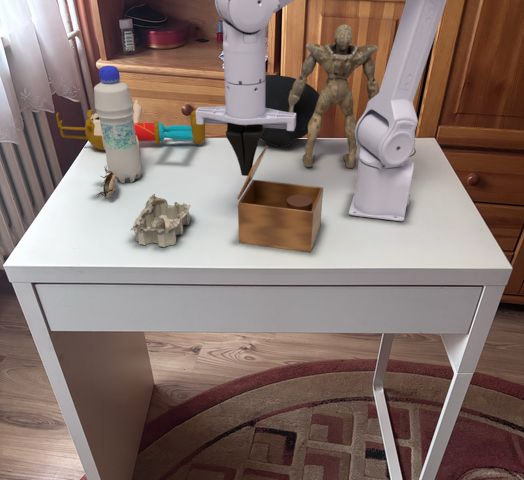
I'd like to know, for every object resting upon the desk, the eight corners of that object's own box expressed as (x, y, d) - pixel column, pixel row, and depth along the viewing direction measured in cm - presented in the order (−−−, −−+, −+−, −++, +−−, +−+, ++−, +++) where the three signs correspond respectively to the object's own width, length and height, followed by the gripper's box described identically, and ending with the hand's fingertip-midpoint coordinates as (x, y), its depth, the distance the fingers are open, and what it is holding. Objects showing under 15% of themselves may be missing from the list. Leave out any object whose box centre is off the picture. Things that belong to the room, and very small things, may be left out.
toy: (209, 140, 107) (48, 138, 102) (208, 179, 113) (57, 179, 109) (201, 85, 123) (61, 81, 118) (201, 121, 129) (68, 119, 125)
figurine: (367, 153, 116) (389, 18, 99) (373, 169, 110) (398, 29, 93) (284, 151, 115) (292, 15, 98) (286, 168, 109) (295, 26, 92)
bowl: (278, 107, 103) (293, 59, 103) (217, 117, 114) (231, 74, 115) (327, 154, 115) (341, 111, 116) (268, 159, 127) (280, 119, 127)
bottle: (147, 171, 109) (132, 61, 96) (138, 186, 104) (120, 72, 91) (114, 170, 109) (94, 60, 96) (104, 184, 104) (81, 70, 91)
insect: (100, 170, 95) (118, 176, 95) (106, 159, 102) (122, 164, 103) (93, 202, 97) (110, 208, 98) (99, 189, 105) (115, 194, 106)
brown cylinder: (312, 229, 91) (314, 196, 87) (307, 242, 88) (309, 207, 84) (288, 226, 92) (289, 193, 88) (283, 238, 89) (284, 204, 85)
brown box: (238, 242, 89) (237, 203, 84) (253, 217, 95) (252, 179, 90) (310, 252, 86) (313, 212, 82) (320, 225, 93) (323, 187, 88)
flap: (238, 200, 84) (236, 199, 84) (253, 176, 90) (252, 175, 90) (253, 168, 80) (251, 167, 80) (268, 146, 86) (266, 145, 86)
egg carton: (156, 213, 96) (153, 191, 93) (196, 219, 94) (194, 197, 92) (128, 243, 88) (124, 220, 86) (171, 250, 87) (168, 227, 84)
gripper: (300, 73, 78) (296, 166, 87) (202, 68, 80) (208, 159, 89) (293, 89, 73) (289, 185, 82) (188, 82, 75) (196, 177, 84)
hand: (246, 173), depth 85 cm, fingers closed
